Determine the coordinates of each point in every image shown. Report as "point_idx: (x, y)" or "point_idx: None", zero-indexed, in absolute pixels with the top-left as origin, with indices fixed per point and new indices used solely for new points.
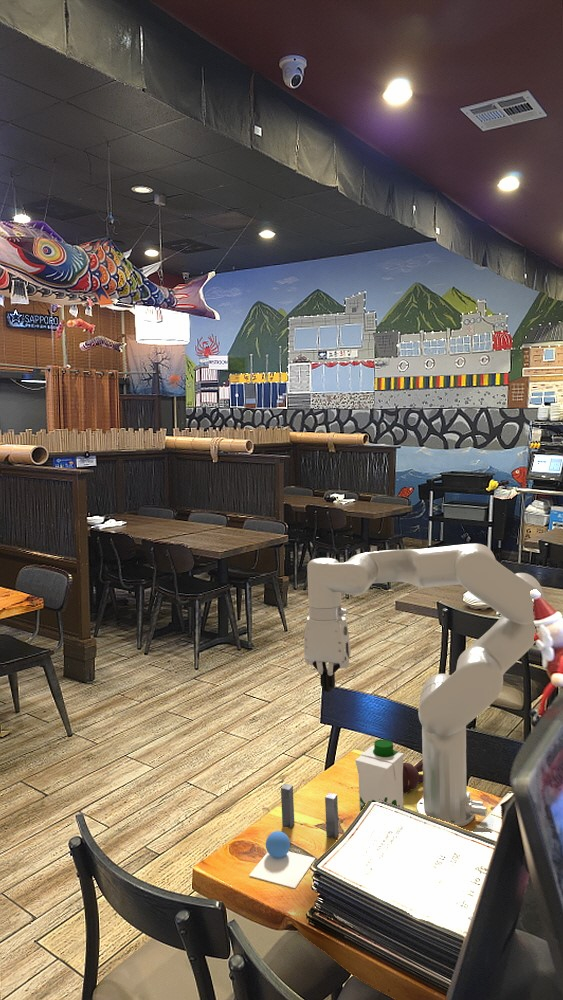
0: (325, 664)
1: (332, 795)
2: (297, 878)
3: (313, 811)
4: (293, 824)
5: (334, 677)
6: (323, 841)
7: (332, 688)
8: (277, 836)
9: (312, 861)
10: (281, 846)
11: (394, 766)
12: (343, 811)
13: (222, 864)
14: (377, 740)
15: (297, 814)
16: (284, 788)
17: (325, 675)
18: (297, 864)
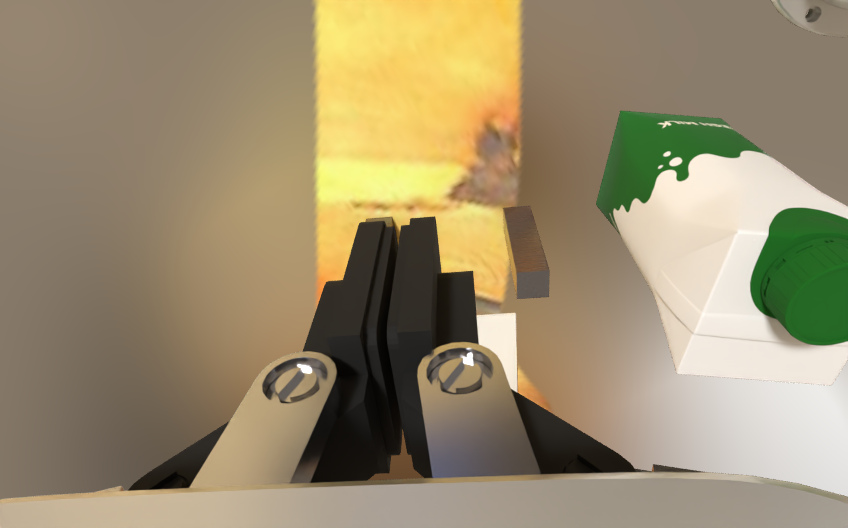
0: (312, 463)
1: (536, 282)
2: (509, 378)
3: (406, 134)
4: (392, 222)
5: (477, 336)
6: (504, 249)
7: (438, 245)
8: None
9: (514, 325)
10: None
11: None
12: (496, 89)
13: None
14: (801, 293)
15: (371, 171)
16: None
17: (395, 440)
18: (487, 345)
